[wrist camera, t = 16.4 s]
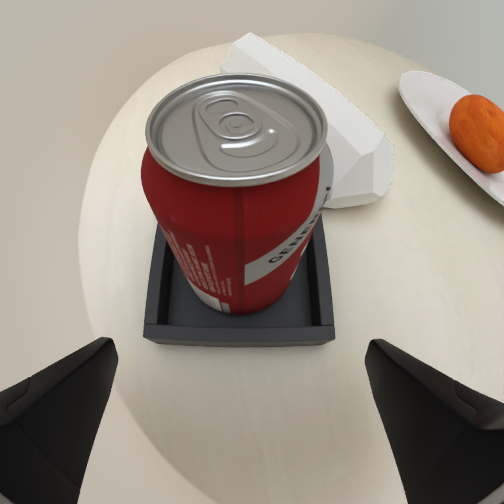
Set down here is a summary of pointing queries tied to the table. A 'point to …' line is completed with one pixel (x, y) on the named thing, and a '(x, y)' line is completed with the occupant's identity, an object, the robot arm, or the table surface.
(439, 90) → the plate
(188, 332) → the dark grey square tray
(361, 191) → the crystal
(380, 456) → the table surface
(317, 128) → the soda can
